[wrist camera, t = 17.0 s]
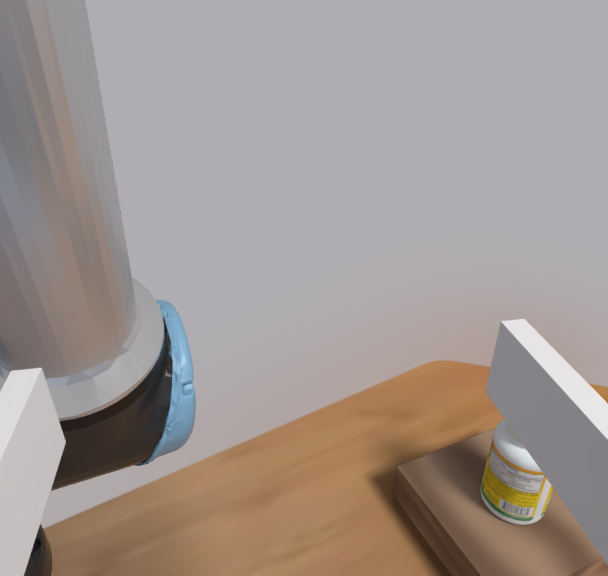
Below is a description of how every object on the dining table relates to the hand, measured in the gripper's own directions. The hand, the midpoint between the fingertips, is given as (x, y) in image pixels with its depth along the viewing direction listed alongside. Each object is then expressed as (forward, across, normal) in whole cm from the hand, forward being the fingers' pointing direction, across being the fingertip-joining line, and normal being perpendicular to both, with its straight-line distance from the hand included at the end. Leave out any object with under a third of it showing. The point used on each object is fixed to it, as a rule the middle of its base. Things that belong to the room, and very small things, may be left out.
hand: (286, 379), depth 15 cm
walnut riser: (+15, +21, -32) cm, 41 cm away
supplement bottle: (+15, +21, -28) cm, 38 cm away
